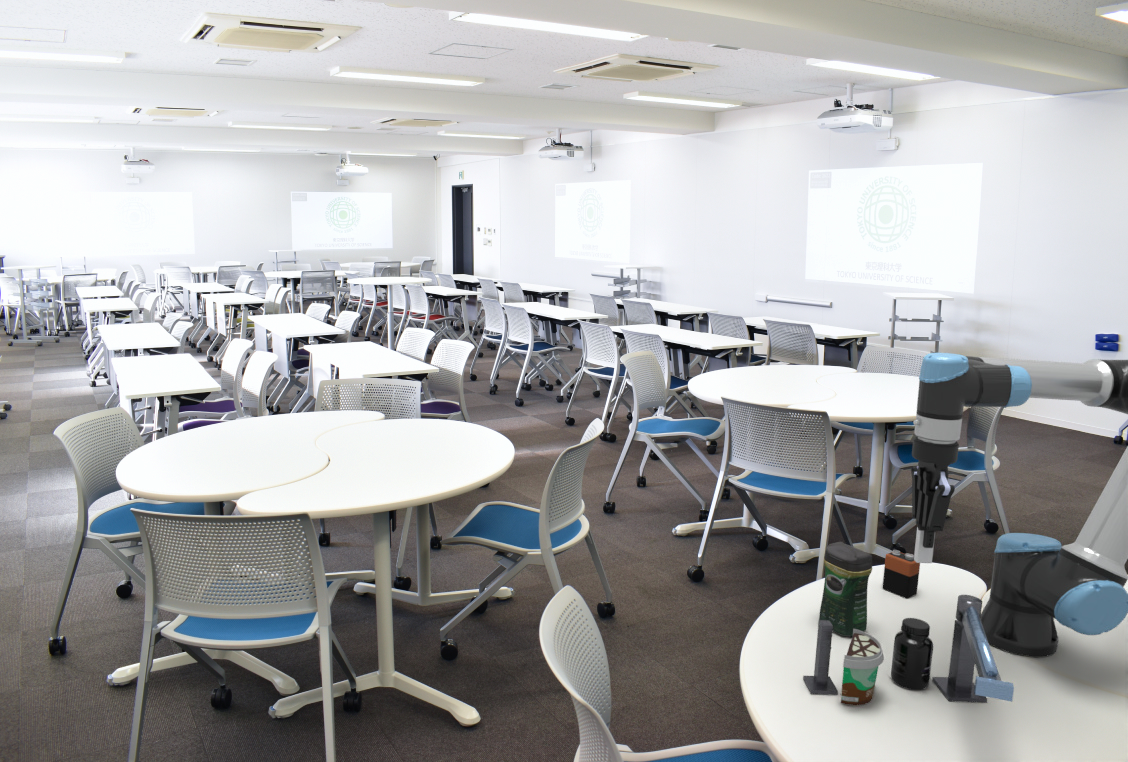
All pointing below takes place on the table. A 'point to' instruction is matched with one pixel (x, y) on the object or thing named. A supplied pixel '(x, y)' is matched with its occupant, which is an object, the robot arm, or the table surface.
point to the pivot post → (959, 671)
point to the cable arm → (981, 651)
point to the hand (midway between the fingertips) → (922, 561)
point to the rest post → (822, 663)
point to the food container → (861, 669)
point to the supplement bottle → (912, 655)
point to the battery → (901, 574)
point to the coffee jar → (845, 588)
